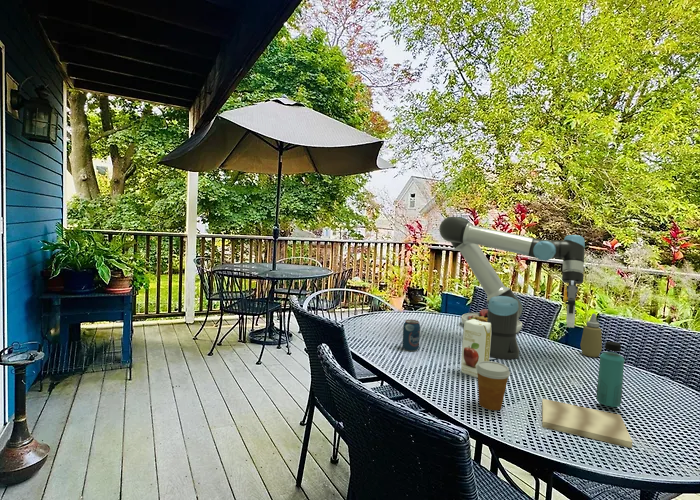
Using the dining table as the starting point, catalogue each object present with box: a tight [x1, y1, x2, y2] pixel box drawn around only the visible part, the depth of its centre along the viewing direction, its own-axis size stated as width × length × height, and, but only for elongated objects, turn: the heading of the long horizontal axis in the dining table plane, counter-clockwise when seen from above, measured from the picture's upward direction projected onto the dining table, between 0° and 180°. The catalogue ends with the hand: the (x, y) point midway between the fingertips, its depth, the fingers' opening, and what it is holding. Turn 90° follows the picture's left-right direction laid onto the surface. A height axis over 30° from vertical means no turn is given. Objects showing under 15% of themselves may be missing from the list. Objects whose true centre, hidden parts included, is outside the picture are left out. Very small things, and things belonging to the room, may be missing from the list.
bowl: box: [461, 308, 523, 334], centre depth 209 cm, size 30×30×8 cm
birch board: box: [541, 398, 633, 449], centre depth 110 cm, size 20×16×2 cm
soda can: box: [402, 319, 421, 352], centre depth 168 cm, size 7×7×12 cm
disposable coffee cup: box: [476, 360, 511, 411], centre depth 118 cm, size 10×10×12 cm
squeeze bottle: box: [580, 313, 603, 358], centre depth 171 cm, size 8×8×18 cm
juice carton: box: [460, 319, 491, 379], centre depth 143 cm, size 8×9×19 cm
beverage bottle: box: [595, 341, 625, 408], centre depth 121 cm, size 6×7×20 cm
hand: (570, 325), depth 157 cm, fingers open, 13 cm apart
